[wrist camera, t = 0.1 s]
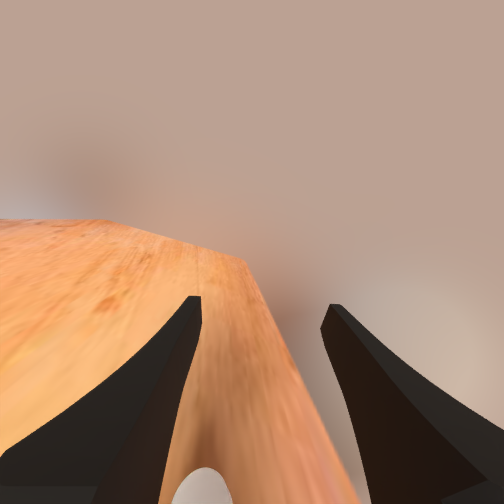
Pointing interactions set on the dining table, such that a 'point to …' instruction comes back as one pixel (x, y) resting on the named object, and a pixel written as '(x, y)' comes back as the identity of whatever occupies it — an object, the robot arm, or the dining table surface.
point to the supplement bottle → (203, 488)
